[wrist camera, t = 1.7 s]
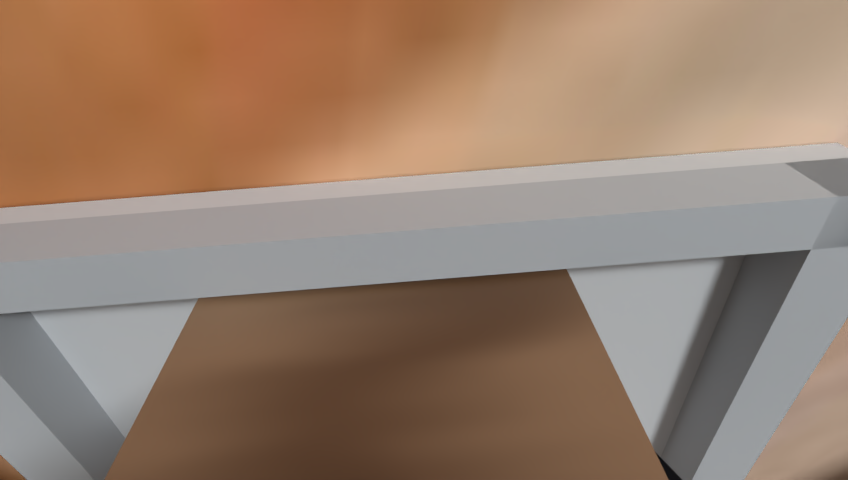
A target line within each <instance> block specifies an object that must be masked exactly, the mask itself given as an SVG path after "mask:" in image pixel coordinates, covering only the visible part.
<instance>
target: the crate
mask: <svg viewBox="0 0 848 480" xmlns="http://www.w3.org/2000/svg"><path fill="white" fill-rule="evenodd" d="M104 480H669V479H668V477H667V475H666V473H665V471H664V469H663V467H662V465H661V463H660V461H659V459H658V457H657V455H656V453H655V450H654V448H653V446H652V444H651V442H650V440H649V438H648V436H647V434H646V432H645V430H644V428H643V426H642V424H641V422H640V420H639V417H638V415H637V413H636V411H635V409H634V407H633V405H632V403H631V401H630V399H629V397H628V395H627V393H626V391H625V389H624V387H623V384H622V382H621V380H620V378H619V376H618V374H617V372H616V370H615V368H614V366H613V364H612V362H611V360H610V358H609V356H608V353H607V351H606V349H605V347H604V345H603V343H602V341H601V339H600V337H599V335H598V333H597V331H596V329H595V327H594V325H593V323H592V320H591V318H590V316H589V314H588V312H587V310H586V308H585V306H584V304H583V302H582V300H581V298H580V296H579V294H578V292H577V289H576V287H575V285H574V283H573V281H572V279H571V277H570V275H569V273H568V271H567V269H559V270H547V271H534V272H522V273H509V274H496V275H484V276H471V277H458V278H446V279H433V280H421V281H408V282H395V283H383V284H370V285H358V286H345V287H332V288H320V289H307V290H294V291H282V292H269V293H257V294H244V295H231V296H219V297H206V298H198V300H197V302H196V304H195V306H194V308H193V310H192V312H191V314H190V315H189V317H188V319H187V321H186V323H185V325H184V327H183V329H182V331H181V333H180V335H179V337H178V339H177V340H176V342H175V344H174V346H173V348H172V350H171V352H170V354H169V356H168V358H167V360H166V362H165V364H164V366H163V367H162V369H161V371H160V373H159V375H158V377H157V379H156V381H155V383H154V385H153V387H152V389H151V391H150V392H149V394H148V396H147V398H146V400H145V402H144V404H143V406H142V408H141V410H140V412H139V414H138V416H137V417H136V419H135V421H134V423H133V425H132V427H131V429H130V431H129V433H128V435H127V437H126V439H125V441H124V443H123V444H122V446H121V448H120V450H119V452H118V454H117V456H116V458H115V460H114V462H113V464H112V466H111V468H110V469H109V471H108V473H107V475H106V477H105V479H104Z"/></svg>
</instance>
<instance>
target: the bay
mask: <svg viewBox="0 0 848 480" xmlns="http://www.w3.org/2000/svg"><path fill="white" fill-rule="evenodd" d="M559 269H567V271H568V273H569V275H570V277H571V279H572V281H573V283H574V285H575V287H576V289H577V292H578V294H579V296H580V298H581V300H582V302H583V304H584V306H585V308H586V310H587V312H588V314H589V316H590V318H591V320H592V323H593V325H594V327H595V329H596V331H597V333H598V335H599V337H600V339H601V341H602V343H603V345H604V347H605V349H606V351H607V353H608V356H609V358H610V360H611V362H612V364H613V366H614V368H615V370H616V372H617V374H618V376H619V378H620V380H621V382H622V384H623V387H624V389H625V391H626V393H627V395H628V397H629V399H630V401H631V403H632V405H633V407H634V409H635V411H636V413H637V415H638V417H639V420H640V422H641V424H642V426H643V428H644V430H645V432H646V434H647V436H648V438H649V440H650V442H651V444H652V446H653V448H654V450H655V452H656V453H657V454H658V455H659V456H660V457H661V458H662V459H663V460H664V461H665V462H666V463H667V464H668V465H669V466H670V467H671V468H672V469H673V470H674V471H675V472H676V474H677V475H678V476H679V477H680V478H681V479H682V480H744V479H745V477H746V476H747V474H748V472H749V471H750V469H751V468H752V466H753V465H754V463H755V462H756V460H757V458H758V457H759V455H760V454H761V452H762V451H763V449H764V447H765V446H766V444H767V443H768V441H769V440H770V438H771V436H772V435H773V433H774V432H775V430H776V429H777V427H778V426H779V424H780V422H781V421H782V419H783V418H784V416H785V415H786V413H787V411H788V410H789V408H790V407H791V405H792V404H793V402H794V400H795V399H796V397H797V396H798V394H799V393H800V391H801V390H802V388H803V386H804V385H805V383H806V382H807V380H808V379H809V377H810V375H811V374H812V372H813V371H814V369H815V368H816V366H817V364H818V363H819V361H820V360H821V358H822V357H823V355H824V354H825V352H826V350H827V349H828V347H829V346H830V344H831V343H832V341H833V339H834V338H835V336H836V335H837V333H838V332H839V330H840V328H841V327H842V325H843V324H844V322H845V321H846V319H847V318H848V148H847V147H845V146H843V145H841V144H839V143H827V144H815V145H802V146H789V147H776V148H763V149H751V150H738V151H725V152H712V153H699V154H686V155H674V156H661V157H648V158H635V159H622V160H610V161H597V162H584V163H571V164H558V165H546V166H533V167H520V168H507V169H494V170H482V171H469V172H456V173H443V174H430V175H418V176H405V177H392V178H379V179H366V180H354V181H341V182H328V183H315V184H302V185H290V186H277V187H264V188H251V189H238V190H225V191H213V192H200V193H187V194H174V195H161V196H149V197H136V198H123V199H110V200H97V201H85V202H72V203H59V204H46V205H33V206H21V207H8V208H0V455H1V456H2V457H3V458H4V459H6V460H7V461H8V462H9V463H10V464H11V465H12V466H13V467H14V468H15V469H16V470H17V471H18V472H19V473H20V474H21V475H22V476H24V477H25V478H26V479H27V480H104V479H105V477H106V475H107V473H108V471H109V469H110V468H111V466H112V464H113V462H114V460H115V458H116V456H117V454H118V452H119V450H120V448H121V446H122V444H123V443H124V441H125V439H126V437H127V435H128V433H129V431H130V429H131V427H132V425H133V423H134V421H135V419H136V417H137V416H138V414H139V412H140V410H141V408H142V406H143V404H144V402H145V400H146V398H147V396H148V394H149V392H150V391H151V389H152V387H153V385H154V383H155V381H156V379H157V377H158V375H159V373H160V371H161V369H162V367H163V366H164V364H165V362H166V360H167V358H168V356H169V354H170V352H171V350H172V348H173V346H174V344H175V342H176V340H177V339H178V337H179V335H180V333H181V331H182V329H183V327H184V325H185V323H186V321H187V319H188V317H189V315H190V314H191V312H192V310H193V308H194V306H195V304H196V302H197V300H198V298H206V297H219V296H231V295H244V294H257V293H269V292H282V291H294V290H307V289H320V288H332V287H345V286H358V285H370V284H383V283H395V282H408V281H421V280H433V279H446V278H458V277H471V276H484V275H496V274H509V273H522V272H534V271H547V270H559Z"/></svg>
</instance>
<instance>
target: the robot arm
mask: <svg viewBox="0 0 848 480" xmlns="http://www.w3.org/2000/svg"><path fill="white" fill-rule="evenodd" d="M655 453H656V452H655ZM656 455H657V457H658V459H659V461H660V463H661V465H662V467H663V469H664V471H665V473H666V475H667V477H668V479H669V480H682V479H681V478H680V477H679V476H678V475H677V474H676V472H675V471H674V470H673V469H672V468H671V467H670V466H669V465H668V464H667V463H666V462H665V461H664V460H663V459H662V458H661V457H660V456H659V455H658V454H657V453H656Z"/></svg>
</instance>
